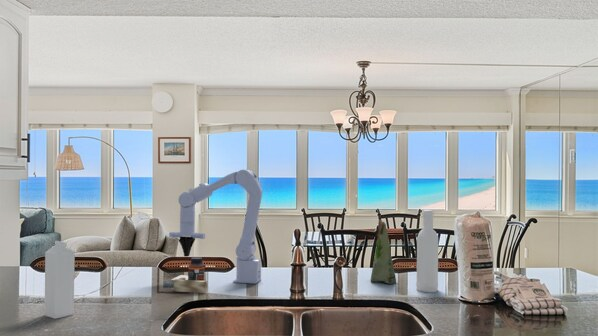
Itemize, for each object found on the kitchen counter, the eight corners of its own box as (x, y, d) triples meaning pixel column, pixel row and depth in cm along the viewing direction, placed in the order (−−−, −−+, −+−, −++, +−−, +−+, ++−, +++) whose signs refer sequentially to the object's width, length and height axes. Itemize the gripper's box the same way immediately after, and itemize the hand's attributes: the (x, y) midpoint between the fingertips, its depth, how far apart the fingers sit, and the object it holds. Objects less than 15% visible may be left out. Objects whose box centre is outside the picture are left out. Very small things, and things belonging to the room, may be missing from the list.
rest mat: (201, 277, 211) (201, 276, 211) (192, 281, 203) (192, 280, 203) (180, 275, 213) (180, 275, 213) (171, 280, 204) (171, 279, 204)
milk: (63, 311, 159) (64, 239, 159) (74, 314, 156) (75, 241, 156) (43, 315, 154) (45, 241, 155) (54, 319, 151) (55, 243, 151)
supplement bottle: (200, 290, 188) (201, 259, 188) (185, 289, 189) (185, 258, 189) (206, 287, 194) (207, 256, 194) (191, 286, 195) (192, 256, 195)
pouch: (384, 286, 200) (385, 221, 200) (361, 281, 209) (362, 219, 209) (402, 282, 207) (403, 220, 207) (379, 277, 216) (380, 217, 216)
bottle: (439, 289, 197) (440, 210, 197) (435, 293, 190) (437, 211, 190) (418, 286, 200) (419, 209, 200) (414, 291, 193) (415, 210, 193)
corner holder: (209, 290, 189) (210, 279, 189) (205, 293, 185) (205, 281, 185) (179, 288, 191) (179, 277, 191) (173, 291, 187) (173, 280, 187)
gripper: (166, 222, 205) (165, 256, 205) (200, 223, 203) (200, 258, 203) (173, 220, 212) (173, 253, 212) (207, 222, 210) (206, 255, 210)
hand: (186, 256), depth 208 cm, fingers closed
